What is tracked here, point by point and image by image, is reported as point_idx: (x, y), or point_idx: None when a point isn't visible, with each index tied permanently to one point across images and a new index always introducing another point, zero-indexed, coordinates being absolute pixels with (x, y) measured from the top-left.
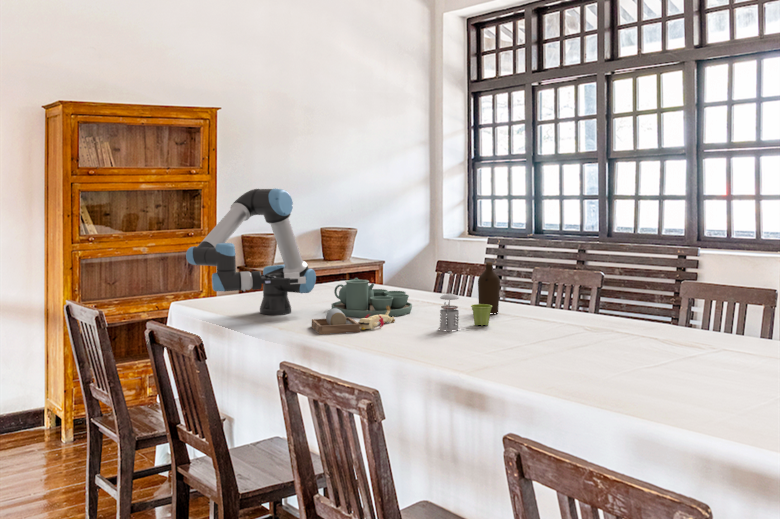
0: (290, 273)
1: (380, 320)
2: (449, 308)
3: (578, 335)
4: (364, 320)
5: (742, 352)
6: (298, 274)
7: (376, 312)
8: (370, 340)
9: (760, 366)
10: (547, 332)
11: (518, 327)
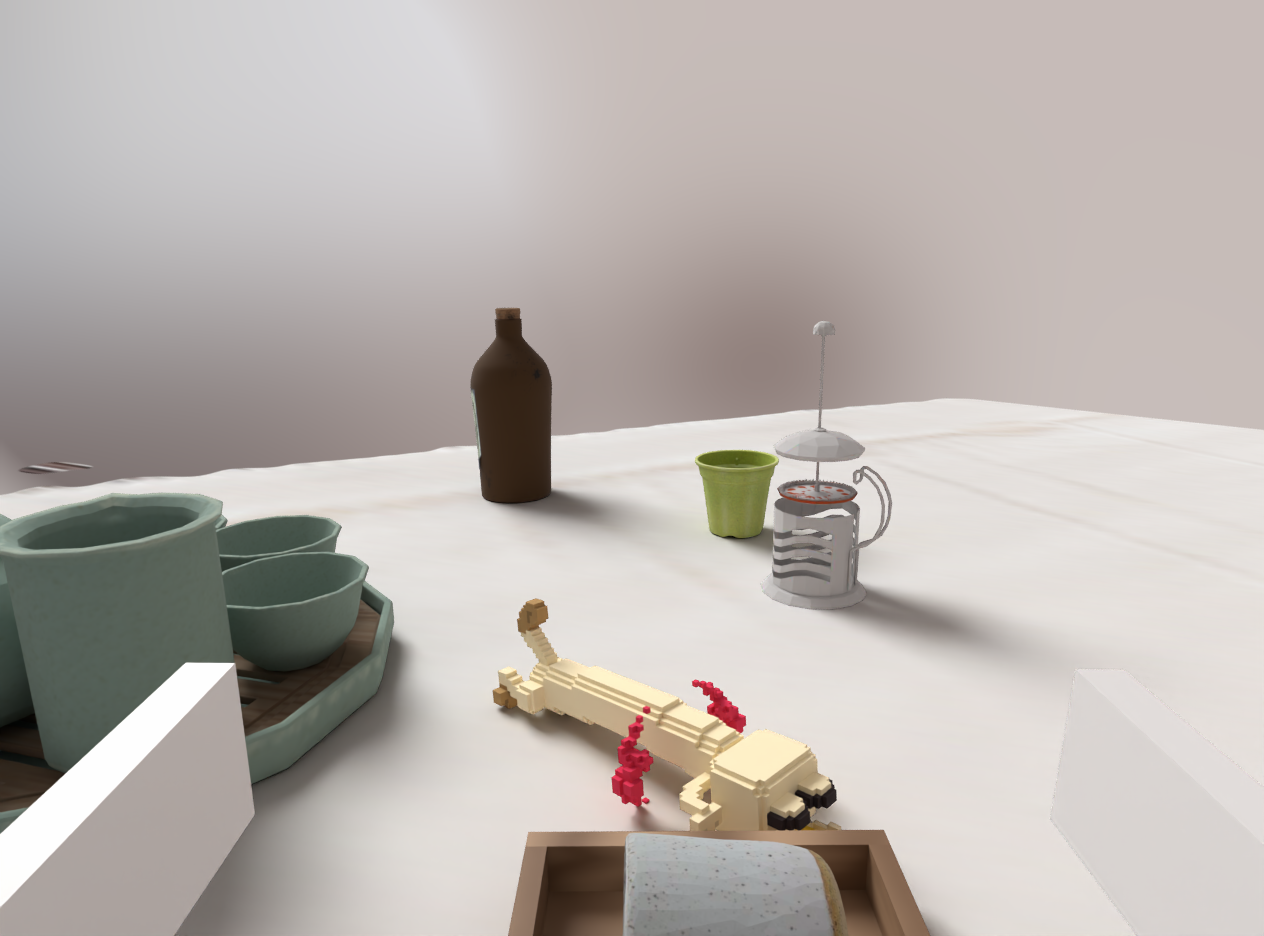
0: (68, 854)
1: (734, 710)
2: (856, 494)
3: (928, 469)
4: (792, 777)
5: (1081, 418)
6: (226, 723)
7: (358, 680)
8: None
9: (1214, 428)
10: None
11: None
